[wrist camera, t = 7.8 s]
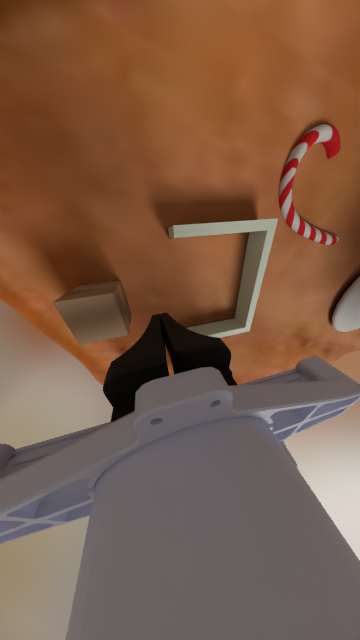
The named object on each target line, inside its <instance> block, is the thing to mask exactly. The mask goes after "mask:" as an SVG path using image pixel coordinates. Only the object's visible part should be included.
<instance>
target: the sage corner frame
mask: <svg viewBox="0 0 360 640" xmlns="http://www.w3.org/2000/svg"><path fill="white" fill-rule="evenodd" d="M277 221H278V219H264V220H248V221H233V222H218V223H202V224H187V225H173V226H171V227H169V228H168V232H169V238H181V237H194V236H206V235H218V234H231V233H243V232H249V237H248V243H247V248H246V254H245V260H244V266H243V272H242V278H241V284H240V289H239V295H238V301H237V307H236V313H235V318H234V319H229V320H223V321H218V322H213V323H208V324H203V325H198V326H193V327H188V328H187V329H189V330H191V331H194V332H196V333H199V334H202V335H206V336H211V337H216V338H220V337H225V336H230V335H234V334H239V333H243V332H248V331H250V327H251V323H252V319H253V315H254V311H255V308H256V304H257V300H258V296H259V292H260V288H261V284H262V280H263V276H264V272H265V268H266V264H267V260H268V257H269V253H270V249H271V245H272V241H273V237H274V233H275V229H276V225H277Z"/></svg>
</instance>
